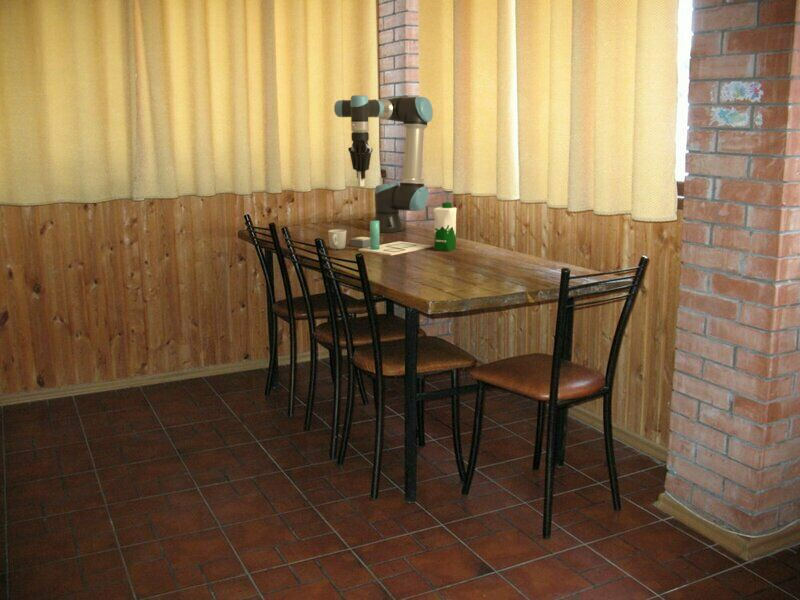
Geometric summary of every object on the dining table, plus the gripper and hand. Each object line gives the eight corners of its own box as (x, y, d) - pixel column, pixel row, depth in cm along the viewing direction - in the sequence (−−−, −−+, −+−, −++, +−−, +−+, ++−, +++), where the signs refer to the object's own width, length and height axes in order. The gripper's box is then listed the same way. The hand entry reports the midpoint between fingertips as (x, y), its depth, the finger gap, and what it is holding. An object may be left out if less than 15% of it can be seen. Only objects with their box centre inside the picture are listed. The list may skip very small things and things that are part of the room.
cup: (342, 251, 375) (341, 233, 373) (324, 251, 376) (324, 232, 374) (348, 247, 385) (348, 229, 383) (331, 247, 387) (330, 229, 385)
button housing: (362, 243, 395) (362, 236, 394) (375, 245, 390) (375, 238, 389) (349, 245, 389) (349, 239, 389) (362, 247, 384) (362, 240, 383)
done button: (362, 243, 393) (362, 236, 392) (371, 244, 390) (371, 237, 389) (354, 244, 389) (353, 238, 388) (362, 246, 386) (362, 239, 385)
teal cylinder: (374, 247, 378) (374, 220, 375) (381, 248, 375) (381, 221, 373) (368, 248, 375) (368, 221, 372) (375, 250, 373) (374, 222, 370)
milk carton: (458, 248, 378) (458, 202, 373) (449, 252, 370) (449, 205, 366) (440, 247, 382) (440, 201, 377) (431, 250, 374) (430, 204, 370)
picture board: (399, 243, 395) (399, 240, 394) (431, 247, 382) (431, 245, 382) (358, 250, 376) (358, 248, 376) (391, 255, 364) (391, 253, 363)
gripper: (343, 131, 380) (344, 186, 385) (364, 132, 371) (365, 187, 377) (355, 131, 385) (356, 184, 390) (376, 131, 377) (377, 186, 382)
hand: (361, 186), depth 383 cm, fingers closed
